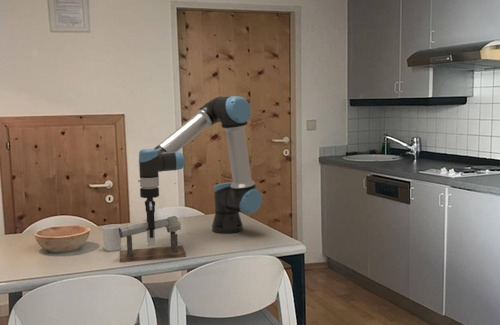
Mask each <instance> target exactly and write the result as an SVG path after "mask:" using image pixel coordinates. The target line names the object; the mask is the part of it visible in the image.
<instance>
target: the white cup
mask: <svg viewBox="0 0 500 325" xmlns="http://www.w3.org/2000/svg"><path fill="white" fill-rule="evenodd" d="M119 228H122V225H121V224H119V223H118V224H117V223H116V224H114V223H113V224H106V225H103V226H102V227H101V229H102V230H101V231H102V240H103V246H104V247H103V248H104V251H106V252H115V251H120V250H121V248H122V238H121V237H120V235H119Z"/></svg>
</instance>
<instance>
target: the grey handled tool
mask: <svg viewBox="0 0 500 325" xmlns="http://www.w3.org/2000/svg"><path fill="white" fill-rule="evenodd" d="M154 223H155V230H158V229H162V228H165V229H166V231H167V233H170V232H172V231H174V232H175V233H176V232H178V231H181V225H182V222H180V221H179V220H178V217H177V216H176V215H175V216H174V215H173V216H169V217H167V218H166V219H165V218H164V219H160V220H159V219H158V220H154ZM146 229H148V222H147V221H146V222H144V223H137V224H133V225H128V224H127V225H126V226H123V227H122V226H121V228H119V235H120V237H121V239H122V238H125V237H126V238H127V236H129V237H130V236H131V235H132V236H134V235H138V234H141V233H147V231H148V230H146Z"/></svg>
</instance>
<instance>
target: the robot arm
mask: <svg viewBox="0 0 500 325" xmlns="http://www.w3.org/2000/svg"><path fill="white" fill-rule="evenodd" d="M251 113H252V110H251V105H250V103H249V101H247V99H246V98H244V97H243V96H238V95H237V96H236V95H230V96H228V95H227V96H218V97H217V96H216V97H214V98H212V99H211V100H209V101H208V102H205V104H204V105H202V106H201V107H200V108H198V109H197V110H196V111H195V115H194V116H192V117H191V118H190V119H188V120H187V121H186V122H184V123H183V124H182V125H180V127H179V128H177V129H176V130H175V131H174V132H172V133H171V134H170V135H169V136H168V137H166V138H165V139H164V140H163V141H161V143H159V144H158V145H157V146H155V147H153V148H146V149H141V150H139V152H138V153H139V154H138V167H139V168H138V170H139V179H138V181H137V182H138V183H139V187H140V188H139V196H140V198H143V199H145V201H144V207H145V212H146V223H147V222H148V229H146V230H148V231H146V234H147V236H146V237H147V238H146V239H147V246H149V247H150V246H152V247H153V246H156V233H155V232H156V229H155V223H154V221H155V213H156V210H155V209H156V207H155V206H156V201H155V200H154V198H155V199H156V198H158V197H159V196H160V188H159V186H160V179H159V178H160V176H159V172H161V173H162V172H169V171H179V170H182V169H183V168H184V166H185V164H186V162H185V157H184V154H183V153H182V152H180V150H181V149H182V148H183V147H184V146H186V145H187V144H188V143H189V142H191V140H193V139H195V137H197V135H199V134H200V133H201V132H203V131H204V130H205V129H206V128H211V127H213V125H215V124H218V123H221V128H222V130H224V131H225V133H226V134H225V135H226V140H227V149H228V156H229V163H230V171H231V177H232V182H231V181H230V182H224V183H223V182H222V183H217V184H215V185H214V189H213V190H214V191H213V193H214V195H213V196H214V217H213V221H212V224H211V230H212V232H214V233H218V234H234V233H239V232H242V231H243V230H244V224H243V221H242V219H241V216H240V213H243V214H247V215H249V214H250V215H251V214H254V213H256V212H257V211H258V210H259V209H260V207H261V205H262V202H263V195H262V193H261V191H260V190H258V189H257V187H256V181H254V179H252V174H251V167H250V159H249V151H248V144H247V136H246V127H247V126H248V121H249V119H250V117H251V115H252V114H251Z"/></svg>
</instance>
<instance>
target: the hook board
mask: <svg viewBox="0 0 500 325" xmlns="http://www.w3.org/2000/svg"><path fill="white" fill-rule="evenodd" d="M169 234H170V235H169V236H170V246H159V247H148V248H147V247H146V248H136V249H133V237H132V236H133V235H131V236H130V237H129V236H127V237H126V249H123V250H121V249H119V263H126V262H128V263H129V262H138V261H151V260H160V259H173V258H183V257H187V253H186V250H185V248H184V246H183V245H178V233H176V232H174V231H172V232H169Z"/></svg>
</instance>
